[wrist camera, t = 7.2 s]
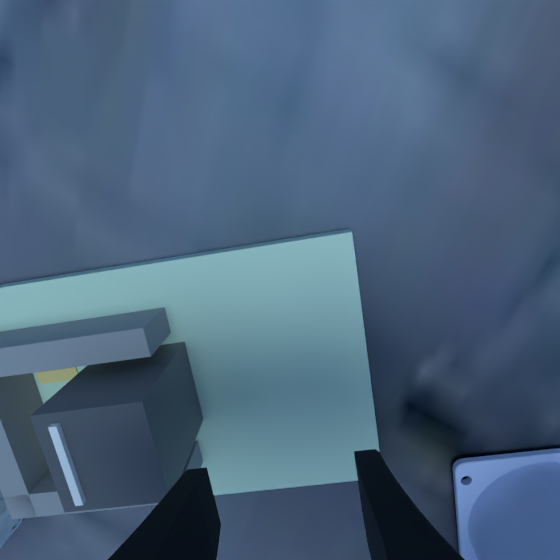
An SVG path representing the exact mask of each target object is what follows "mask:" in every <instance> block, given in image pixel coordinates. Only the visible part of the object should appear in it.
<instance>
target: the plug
mask: <svg viewBox="0 0 560 560" xmlns="http://www.w3.org/2000/svg"><path fill="white" fill-rule="evenodd" d="M30 417H31V420H32V423H33V426H34V429H35V431H36V434H37V437H38V440H39V443H40V445H41V448H42V451H43V454H44V456H45V459H46V462H47V465H48V468H49V470H50V473H51V476H52V479H53V482H54V484H55V487H56V490H57V493H58V496H59V498H60V501H61V504H62V507H63V509H64V512H65V513H66V512H75V511H85V510H95V509H104V508H114V507H124V506H133V505H143V504H153V503H159V502H160V501H161V500H162V499H163V498H164V496H165V495H166V494H167V493H168V492H169V490H170V489H171V488H172V487H173V485H174V484H175V483H176V482H177V481H178V479H179V478H180V477H181V474H182V472H183V469H184V467H185V464H186V462H187V459H188V457H189V454H190V452H191V449H192V447H193V444H194V442H195V439H196V437H197V434H198V432H199V429H200V427H201V424H202V422H203V420H204V419H203V415H202V411H201V407H200V403H199V399H198V394H197V390H196V386H195V382H194V378H193V374H192V370H191V366H190V361H189V357H188V353H187V349H186V345H185V342H178V343H171V344H164V345H160V346H159V347H158V349H157V350H156V351H155V352H154V353H153V355H152V356H151V357H144V358H137V359H130V360H122V361H115V362H108V363H100V364H93V365H87V366H86V367H85V368H84V369H82V370H81V371H80V372H79V373H78V374H77V375H76V376H75V377H73V378H72V379H71V380H70V381H69V382H68V383H67V384H66V385H64V386H63V387H62V388H61V389H60V390H59V391H58V392H56V393H55V394H54V395H53V396H52V397H51V398H50V399H49V400H47V401H46V402H45V403H44V404H43V405H42V406H41V407H40V408H38V409H37V410H36V411H35V412H34V413H33V414H32V415H31V416H30Z"/></svg>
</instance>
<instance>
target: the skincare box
mask: <svg viewBox="0 0 560 560" xmlns="http://www.w3.org/2000/svg"><path fill="white" fill-rule="evenodd" d="M22 520H23V518H22V519H12V518H11V515H10V513H9V510H8V508H7V505H6V503H5V500H4V498H3V495H2V493H1V490H0V548H1V547H2V545H3V544H4V543H5V542H6V541H7V539H8V538H9V537H10V536H11V535H12V533H13V532H14V531H15V530H16V529H17V528H18V527H19V525H20V524H21V522H22Z"/></svg>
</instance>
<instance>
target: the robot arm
mask: <svg viewBox="0 0 560 560" xmlns="http://www.w3.org/2000/svg"><path fill="white" fill-rule="evenodd" d="M354 456H355V463H356V470H357V477H358V484H359V491H360V498H361V505H362V512H363V518H364V523H365V529H366V535H367V541H368V547H369V551H370V555H371V559H372V560H560V448H556V449H547V450H537V451H528V452H518V453H509V454H499V455H490V456H480V457H471V458H462V459H458V460H457V461H456V462H455V463H454V464H453V480H454V493H455V506H456V519H457V532H458V545H459V553H458V552H457V551H456V550H455V549H454V548H453V547H452V546H451V545H450V544H449V543H448V542H447V541H446V540H445V539H444V538H443V537H442V536H441V535H440V534H439V532H438V531H437V530H436V529H435V528H434V527H433V526H432V525H431V523H430V522H429V521H428V520H427V519H426V518H425V516H424V515H423V514H422V513H421V512H420V510H419V509H418V508H417V507H416V506H415V504H414V503H413V502H412V500H411V499H410V498H409V496H408V495H407V494H406V493H405V491H404V490H403V489H402V487H401V486H400V484H399V483H398V482H397V480H396V479H395V477H394V476H393V474H392V473H391V471H390V470H389V468H388V467H387V465H386V463H385V462H384V460H383V458H382V456H381V454H380V452H379V451H377V450H376V449H370V450H361V451H354ZM465 476H468V477H467V478H466V479H462V478H463V477H465ZM220 527H221V523H220V519H219V515H218V511H217V507H216V503H215V499H214V495H213V491H212V486H211V482H210V478H209V474H208V470H207V467H206V468H197V469H188V470H186V471H185V472H184V474H183V475H182V476H181V477H180V478H179V479H178V481H177V482H176V483H175V484H174V485H173V487H172V488H171V489H170V490H169V492H168V493H167V494H166V495H165V496H164V498H163V499H162V500H161V501H160V502H159V504H158V505H157V506H156V507H155V508H154V509H153V511H152V512H151V513H150V514H149V515H148V516H147V518H146V519H145V520H144V521H143V522H142V523H141V525H140V526H139V527H138V528H137V529H136V530H135V531H134V532H133V533H132V534H131V535H130V537H129V538H128V539H127V540H126V541H125V542H124V543H123V544H122V545H121V546H120V547H119V548H118V550H117V551H116V552H115V553H114V554H113V555H112V556H111V557H110V558H109V559H108V560H216V557H217V550H218V543H219V535H220Z"/></svg>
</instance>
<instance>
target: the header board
mask: <svg viewBox="0 0 560 560" xmlns="http://www.w3.org/2000/svg"><path fill="white" fill-rule="evenodd" d="M178 342H185V345H186V349H187V353H188V357H189V361H190V366H191V370H192V374H193V378H194V382H195V386H196V390H197V394H198V399H199V403H200V407H201V411H202V415H203V419H204V420H203V422H202V424H201V427H200V429H199V432H198V434H197V437H196V439H195V442H194V444H193V447H192V449H191V452H190V454H189V457H188V459H187V462H186V464H185V467H184V469H183V472H182V474H181V476H182V475H183V474H184V472H185V471H186V470H188V469H197V468H206V467H207V470H208V474H209V478H210V482H211V486H212V491H213V495H222V494H232V493H241V492H251V491H261V490H271V489H280V488H290V487H300V486H310V485H319V484H329V483H339V482H348V481H358V477H357V470H356V463H355V456H354V451H361V450H370V449H376V450H377V451H379V452H380V450H379V442H378V434H377V426H376V418H375V411H374V403H373V395H372V387H371V379H370V371H369V363H368V355H367V347H366V339H365V331H364V323H363V315H362V307H361V299H360V291H359V283H358V275H357V267H356V259H355V251H354V243H353V235H352V231H351V230H350V229H344V230H338V231H332V232H326V233H319V234H313V235H307V236H301V237H294V238H288V239H282V240H276V241H269V242H263V243H257V244H251V245H244V246H238V247H232V248H226V249H219V250H213V251H207V252H200V253H194V254H188V255H182V256H175V257H169V258H163V259H157V260H150V261H144V262H138V263H132V264H125V265H119V266H113V267H107V268H100V269H94V270H88V271H82V272H75V273H69V274H63V275H57V276H50V277H44V278H38V279H31V280H25V281H19V282H13V283H6V284H0V490H1V493H2V495H3V498H4V500H5V503H6V505H7V508H8V510H9V513H10V515H11V518H12V519H22V518H32V517H42V516H51V515H61V514H71V513H81V512H91V511H100V510H110V509H120V508H130V507H140V506H149V505H158V504H159V503H153V504H143V505H133V506H124V507H114V508H104V509H95V510H85V511H75V512H66V513H65V512H64V509H63V507H62V504H61V501H60V498H59V496H58V493H57V490H56V487H55V484H54V482H53V479H52V476H51V473H50V470H49V468H48V465H47V462H46V459H45V456H44V454H43V451H42V448H41V445H40V443H39V440H38V437H37V434H36V431H35V429H34V426H33V423H32V420H31V417H30V416H31V415H32V414H33V413H34V412H35V411H36V410H37V409H38V408H40V407H41V406H42V405H43V404H44V403H45V402H46V401H47V400H49V399H50V398H51V397H52V396H53V395H54V394H55V393H56V392H58V391H59V390H60V389H61V388H62V387H63V386H64V385H66V384H67V383H68V382H69V381H70V380H71V379H72V378H73V377H75V376H76V375H77V374H78V373H79V372H80V371H81V370H82V369H84V368H85V367H86V366H87V365H93V364H100V363H108V362H115V361H122V360H130V359H137V358H144V357H151V356H152V355H153V353H154V352H155V351H156V350H157V349H158V347H159V346H160V345H164V344H171V343H178Z"/></svg>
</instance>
